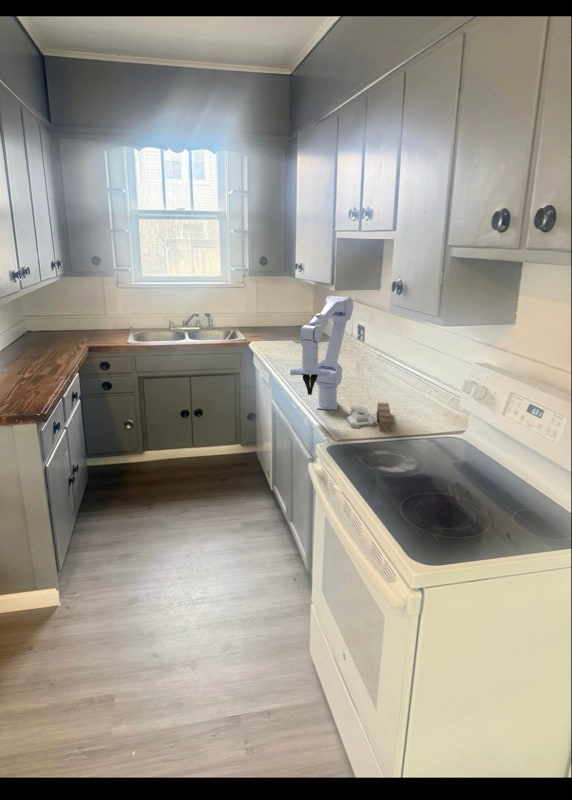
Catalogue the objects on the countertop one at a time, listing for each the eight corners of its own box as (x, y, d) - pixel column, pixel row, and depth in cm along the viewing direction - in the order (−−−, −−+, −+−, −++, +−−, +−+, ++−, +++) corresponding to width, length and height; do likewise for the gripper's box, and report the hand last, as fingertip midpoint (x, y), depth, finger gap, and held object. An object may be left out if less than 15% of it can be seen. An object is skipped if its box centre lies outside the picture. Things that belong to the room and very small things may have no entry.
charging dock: (375, 412, 203) (376, 401, 201) (387, 412, 202) (388, 401, 201) (378, 431, 184) (378, 419, 182) (391, 431, 183) (392, 419, 182)
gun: (341, 404, 202) (367, 403, 203) (341, 412, 203) (366, 411, 204) (352, 422, 185) (380, 421, 186) (351, 431, 186) (379, 430, 187)
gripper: (289, 360, 187) (289, 396, 191) (329, 361, 185) (329, 397, 190) (291, 356, 194) (291, 391, 198) (330, 356, 192) (329, 392, 196)
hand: (310, 394), depth 194 cm, fingers closed
